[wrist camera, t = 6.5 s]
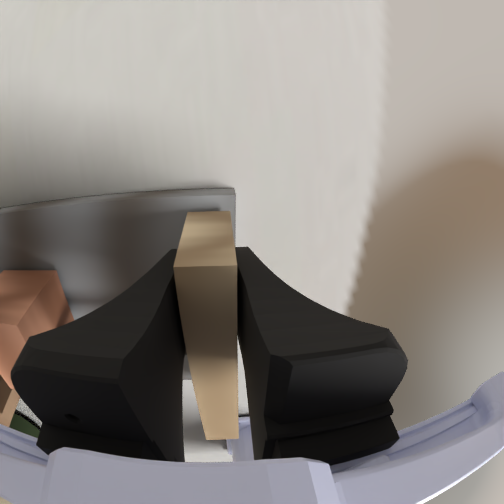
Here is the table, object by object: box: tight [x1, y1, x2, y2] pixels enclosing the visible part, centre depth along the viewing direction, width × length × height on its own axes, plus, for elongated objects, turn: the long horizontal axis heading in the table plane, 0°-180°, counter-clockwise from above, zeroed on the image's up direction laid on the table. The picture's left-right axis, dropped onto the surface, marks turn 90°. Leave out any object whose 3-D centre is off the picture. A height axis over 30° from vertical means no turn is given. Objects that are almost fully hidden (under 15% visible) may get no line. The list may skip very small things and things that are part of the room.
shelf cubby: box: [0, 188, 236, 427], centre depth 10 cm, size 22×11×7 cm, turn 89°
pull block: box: [0, 211, 239, 440], centre depth 11 cm, size 12×10×4 cm
